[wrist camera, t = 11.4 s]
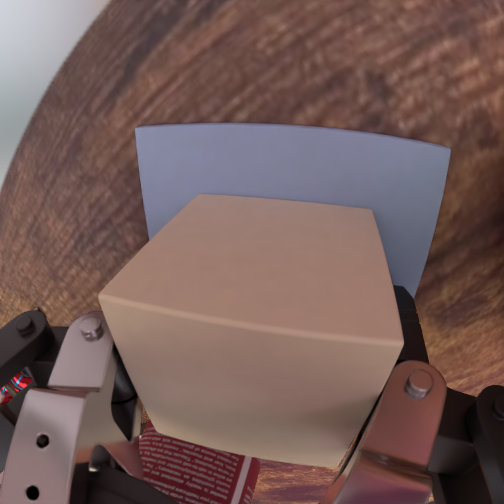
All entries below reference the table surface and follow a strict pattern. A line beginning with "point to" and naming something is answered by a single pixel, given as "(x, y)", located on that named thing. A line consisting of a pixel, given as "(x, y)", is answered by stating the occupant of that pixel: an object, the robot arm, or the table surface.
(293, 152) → the blue mat
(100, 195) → the table surface
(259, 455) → the cream block
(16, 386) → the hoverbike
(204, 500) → the pill bottle
